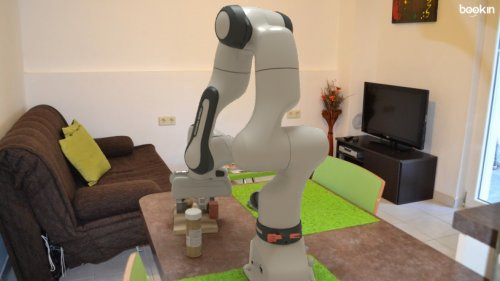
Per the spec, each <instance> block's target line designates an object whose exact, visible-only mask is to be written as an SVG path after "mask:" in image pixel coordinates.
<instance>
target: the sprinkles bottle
mask: <svg viewBox="0 0 500 281" xmlns="http://www.w3.org/2000/svg"><path fill="white" fill-rule="evenodd" d="M201 217H202V213H201V210H200V209H197V208H191V209H188V210H186V211H185V218H186V234H185V239H186V240H185V243H186V253H185V255H186V256H187V257H188V258H198V257H201V255H202V254H203V252H202V239H203V238H202V233H201Z"/></svg>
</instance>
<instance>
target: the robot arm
mask: <svg viewBox="0 0 500 281" xmlns="http://www.w3.org/2000/svg"><path fill="white" fill-rule="evenodd" d="M293 25H294V24H293V22H292V20H291V18H290V17H289V16H287V15H286V14H284V13H282V12H280V11H274V10H270V9H266V8H261V7H260V6H254V5H253V6H251V5H250V6H249V5H239V4H230V5H225V6H223V7H222V8H220V10H219V12H217V15H216V17H215V21H214V32H215V36H216V38H217V40H218V43H217V46H216V50H215V54H214V58H213V59H214V60H213V66H212V67H213V68H212V72H211V73H212V74H211V76H210V79H209V82H208V84H207V86H206V87H205V89H204V90H203V92H202V94H201V95H200V100H199V103H198V107H197V109H196V110H197V111H196V113H195V118H194V123H192V124H191V125H189V127H188V130H187V139H186V142H187V143H186V144H187V145H186V147H185V150H184V156H183V158H184V162H185V165H186V166H187V170H175V171H173V172H172V173H170V174H169V183H170V184H171V189H170V190H171V191H170V193H171V194H170V195H171V198H172V199H173V200H176V199H187V198H190V199H193V200H194V201H193V202H194V203H196V204H197V205H198V209H200V210H206V205H207V204H208V202H209V200H210V197H215V198H224V197H230V196H231V195H232V194H233V189H232V188H233V187H232V182H231V179H230V176H229V170H228V168H227V166H228V165H231V164H233V163H234V165H235V166H236V167H237V169H239V170H240V171H243V172H251V173H265V172H268V173H269V172H276V174H275V175H274V176H273V177H272V178H271V179H270V180H269V181H268V182H265V184H263V185H262V187H261V188H260V189H261V190H260V189H259V190H260V192H259V196H258V211H257V212H258V213H257V218H256V219H255V220H256V221H255V232H256V234H255V235H254V236H253V238H252V239H251V240H250V241H249V242H250V245H249V256H248V257H249V258H248V259H249V261H248V263H246V264H244V266H243V267H242V268H243V269H242V271H243V272H244V274H245V276H246V277H247V279H248V280H249V281H316V278H315V273H314V269H313V268H314V265H315V263H314V258H313V257H310V256H307V252H310V250H309V249H310V247H309V246H307V245H305V244H306V243H305V237H304V235H303V225H302V224H303V222H302V219H301V211H302V210H301V209H302V202H303V201H302V200H303V193H304V191H305V188H306V184H307V183H308V181H309V179H310V177H311V175H312V174H313V173H314V171H315V170H316V169H317V168H318V167H319V166H320V165H322V163H324V162H325V161H326V159H327V157H328V156H329V153H330V142H329V138H328V136H327V134H326V133H325V131H324V130H323V129H321V128H320V127H316V126H312V125H311V126H310V125H290V126H288V125H287V126H286V125H285V126H282V122H283V118H284V116H285V115H286V113H289V112H290V111H291V110H293V109H294V108H296V107H297V105H298V104H299V102H300V99H301V82H300V78H301V77H300V63H299V55H298V49H297V45H296V41H295V35H294V26H293ZM253 60H254V80H255V83H254V84H255V99H254V101H255V102H254V107H253V111H252V113H251V117H250V118H249V121H248V122H247V123H246V124H245V126H244V127H243V128H242V129H241V130H240V131H239V132H238V133H236V135H235V136H234V137H233V136H232V135H228V134H225V133H224V132H222V131H221V130H218V129H217V128H216V126H215V125H216V123H217V120H218V117H219V115H220V113H221V112H222V111H223V110H224V109H225V108H226V107H227V106H229V105H230V104H231V103H234V102H235V101H236V100H238V99H240V98H241V97H243V95H244V94H245V93H246V91H247V89H248V87H249V85H250V80H251V79H250V78H251V75H252V74H251V73H252V66H253ZM200 199H205V200H206V201H205V202H204V203H200Z"/></svg>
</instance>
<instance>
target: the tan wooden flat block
mask: <svg viewBox="0 0 500 281" xmlns="http://www.w3.org/2000/svg"><path fill="white" fill-rule="evenodd" d="M184 200H185V199H175V201H176V202H175V203H176V204H174V206H173V210H174V211H173V236H179V235H182V236H183V235H186V218H185V211H186V210H188V209H191V208H197V209H198V205H197V204H196V203H195V202H193V206H192V207H191V208H187V201H184ZM183 201H184V202H183ZM201 213H202V217H201V234H209V233H211V234H212V233H219V232H218V231H219V227H218V224H217V223H218V222H217V218H211V219H209V211H201Z"/></svg>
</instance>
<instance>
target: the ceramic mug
mask: <svg viewBox="0 0 500 281" xmlns="http://www.w3.org/2000/svg"><path fill="white" fill-rule="evenodd" d="M260 190H261V188H260V189H258V190H254V191H253V192H251V194H250V195H249V199H248V200H247V202H246V203H247V205H248V206H251V208H252V209H253V210H255V211H256V212H258V196H259V192H260Z"/></svg>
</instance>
